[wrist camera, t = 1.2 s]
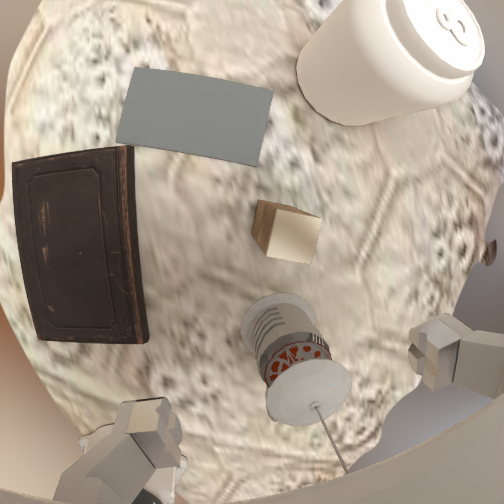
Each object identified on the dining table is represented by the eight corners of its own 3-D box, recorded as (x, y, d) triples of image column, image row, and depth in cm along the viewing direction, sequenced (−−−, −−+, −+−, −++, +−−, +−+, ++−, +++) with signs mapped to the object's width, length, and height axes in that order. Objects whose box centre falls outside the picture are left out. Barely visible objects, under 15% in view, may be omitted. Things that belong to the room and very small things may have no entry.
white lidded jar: (385, 48, 32) (489, -6, 13) (386, 135, 35) (510, 121, 16) (295, 26, 30) (366, -71, 11) (291, 119, 33) (381, 67, 14)
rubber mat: (256, 166, 34) (256, 166, 34) (116, 142, 31) (115, 142, 31) (272, 91, 32) (273, 91, 32) (135, 68, 29) (134, 67, 29)
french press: (327, 302, 39) (445, 436, 15) (295, 375, 42) (362, 525, 18) (254, 283, 37) (325, 445, 13) (227, 363, 40) (253, 536, 16)
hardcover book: (44, 332, 36) (38, 340, 34) (20, 162, 30) (11, 162, 28) (150, 335, 38) (147, 344, 36) (135, 146, 32) (131, 144, 30)
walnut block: (284, 240, 37) (311, 264, 27) (250, 234, 36) (266, 256, 26) (292, 206, 36) (322, 219, 26) (258, 199, 35) (277, 209, 25)
